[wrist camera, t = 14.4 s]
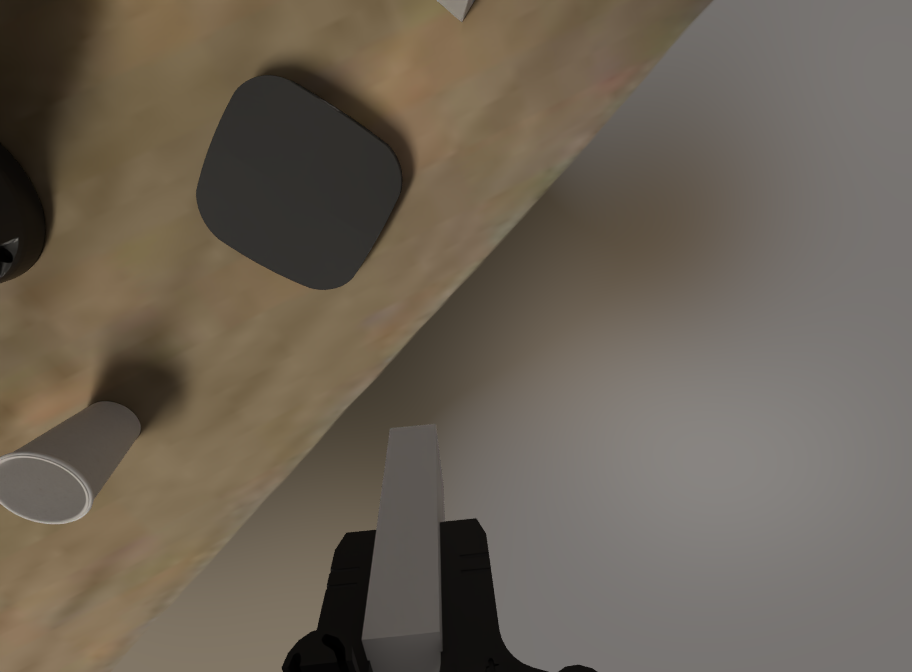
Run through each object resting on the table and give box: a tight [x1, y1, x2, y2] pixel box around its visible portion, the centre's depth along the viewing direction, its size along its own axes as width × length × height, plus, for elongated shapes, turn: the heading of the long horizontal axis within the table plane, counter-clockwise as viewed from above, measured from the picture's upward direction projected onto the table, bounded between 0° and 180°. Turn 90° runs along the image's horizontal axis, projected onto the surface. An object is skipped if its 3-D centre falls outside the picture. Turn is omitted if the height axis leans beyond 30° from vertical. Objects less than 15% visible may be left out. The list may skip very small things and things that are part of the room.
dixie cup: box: [0, 401, 141, 524], centre depth 43 cm, size 8×8×10 cm
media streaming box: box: [196, 75, 402, 290], centre depth 38 cm, size 15×15×3 cm
